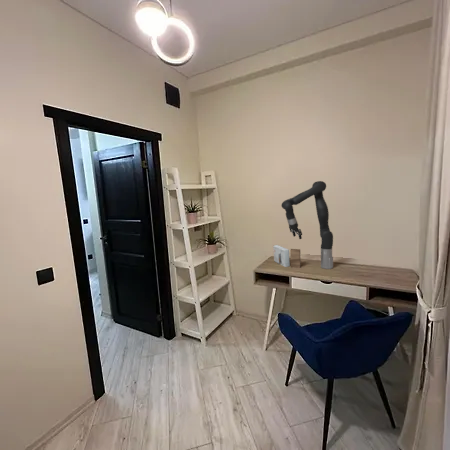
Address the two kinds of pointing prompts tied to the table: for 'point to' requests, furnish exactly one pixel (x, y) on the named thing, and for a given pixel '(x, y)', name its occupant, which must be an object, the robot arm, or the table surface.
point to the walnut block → (295, 258)
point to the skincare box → (281, 255)
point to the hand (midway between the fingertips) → (297, 237)
